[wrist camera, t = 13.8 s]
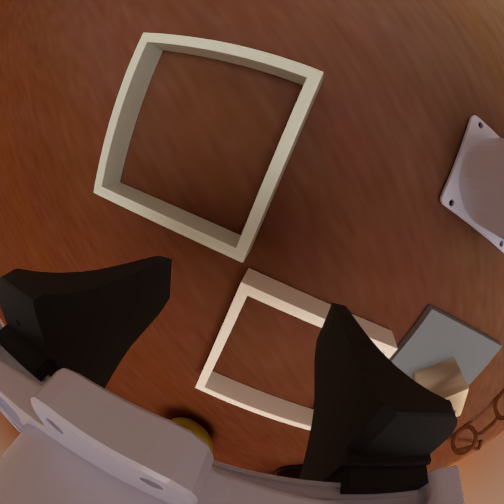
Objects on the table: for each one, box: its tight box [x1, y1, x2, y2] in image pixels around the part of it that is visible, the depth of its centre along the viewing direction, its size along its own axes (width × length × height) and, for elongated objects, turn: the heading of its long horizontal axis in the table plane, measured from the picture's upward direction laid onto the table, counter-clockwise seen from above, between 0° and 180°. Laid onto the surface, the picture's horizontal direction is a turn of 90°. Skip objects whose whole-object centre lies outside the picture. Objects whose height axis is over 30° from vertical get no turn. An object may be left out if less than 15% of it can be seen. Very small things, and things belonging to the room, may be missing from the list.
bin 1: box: [94, 33, 324, 263], centre depth 17 cm, size 14×14×2 cm
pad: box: [389, 304, 502, 385], centre depth 21 cm, size 13×13×1 cm
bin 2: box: [195, 268, 398, 430], centre depth 23 cm, size 14×14×2 cm
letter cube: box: [414, 358, 469, 417], centre depth 19 cm, size 4×4×5 cm
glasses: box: [451, 389, 504, 455], centre depth 20 cm, size 13×13×5 cm
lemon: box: [170, 417, 213, 454], centre depth 28 cm, size 11×8×8 cm
